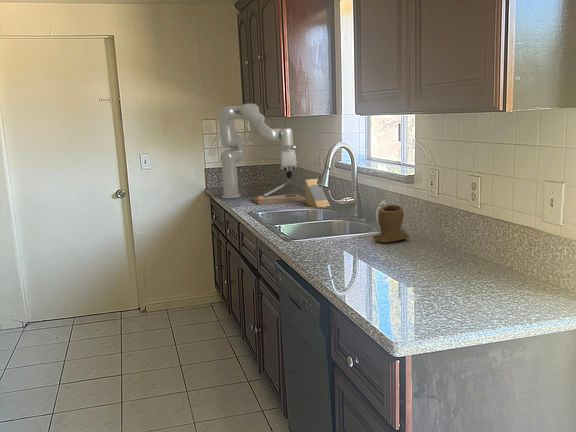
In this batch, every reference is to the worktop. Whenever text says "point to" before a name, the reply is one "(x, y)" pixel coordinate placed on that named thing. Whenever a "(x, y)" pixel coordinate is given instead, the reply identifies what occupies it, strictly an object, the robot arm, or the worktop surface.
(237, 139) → the robot arm
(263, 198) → the tongs lower arm
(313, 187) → the sandwich container
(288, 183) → the upper tong arm
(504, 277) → the worktop surface
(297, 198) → the walnut cutting board
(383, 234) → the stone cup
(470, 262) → the worktop surface
